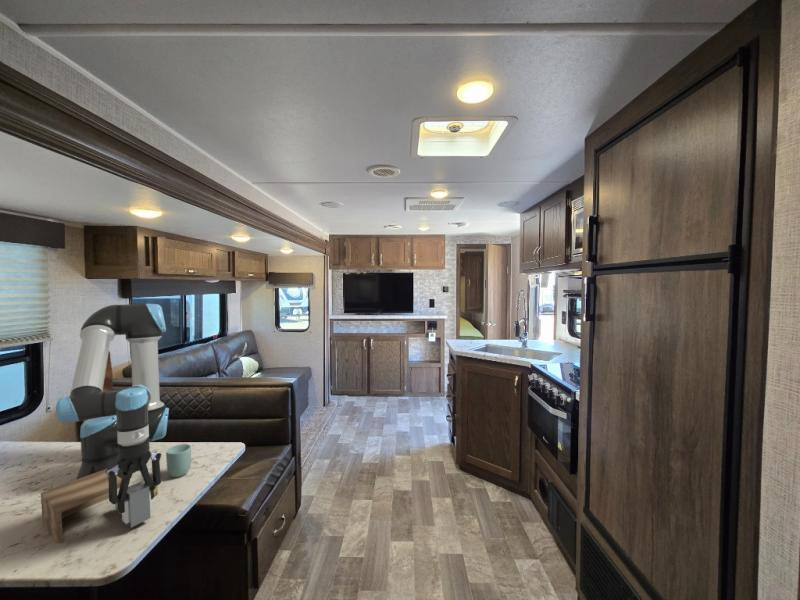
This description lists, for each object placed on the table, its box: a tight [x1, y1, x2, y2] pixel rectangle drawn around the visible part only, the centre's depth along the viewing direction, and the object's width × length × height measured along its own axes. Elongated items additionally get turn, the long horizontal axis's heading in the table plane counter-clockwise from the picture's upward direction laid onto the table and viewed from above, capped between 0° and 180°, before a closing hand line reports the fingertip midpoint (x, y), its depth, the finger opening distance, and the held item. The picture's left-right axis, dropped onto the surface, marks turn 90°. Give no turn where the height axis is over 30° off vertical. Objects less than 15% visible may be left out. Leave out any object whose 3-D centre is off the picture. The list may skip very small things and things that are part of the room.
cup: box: [165, 443, 192, 478], centre depth 132 cm, size 8×8×10 cm
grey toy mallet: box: [114, 481, 151, 528], centre depth 108 cm, size 15×5×10 cm, turn 58°
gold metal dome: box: [154, 485, 159, 498], centre depth 119 cm, size 6×6×3 cm
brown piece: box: [40, 469, 122, 544], centre depth 108 cm, size 14×16×10 cm
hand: (137, 515), depth 105 cm, fingers closed on grey toy mallet, 5 cm apart
